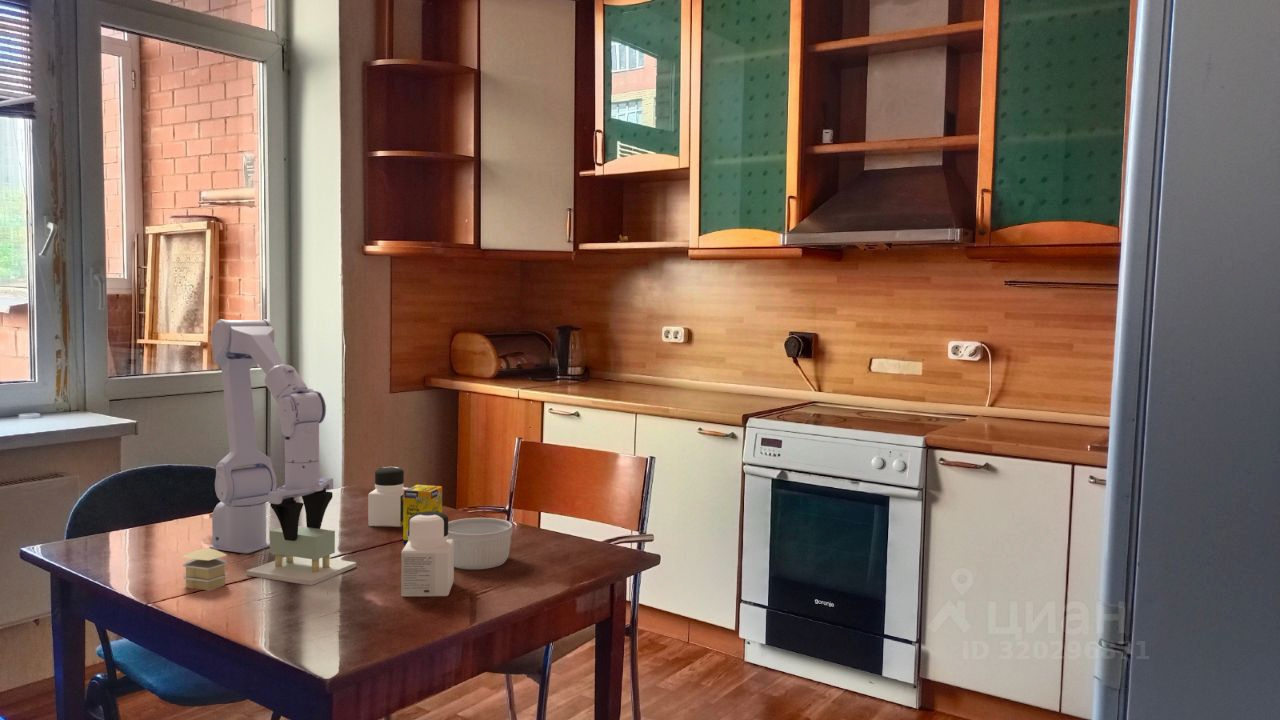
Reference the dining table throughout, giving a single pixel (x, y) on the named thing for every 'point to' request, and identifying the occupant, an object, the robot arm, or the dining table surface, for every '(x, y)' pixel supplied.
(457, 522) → the ramekin
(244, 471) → the robot arm
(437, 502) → the supplement box
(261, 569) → the cream peg board
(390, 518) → the medicine bottle
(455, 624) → the dining table surface
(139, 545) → the dining table surface
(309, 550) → the rectangular block
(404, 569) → the container
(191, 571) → the beige tiered box
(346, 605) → the dining table surface
